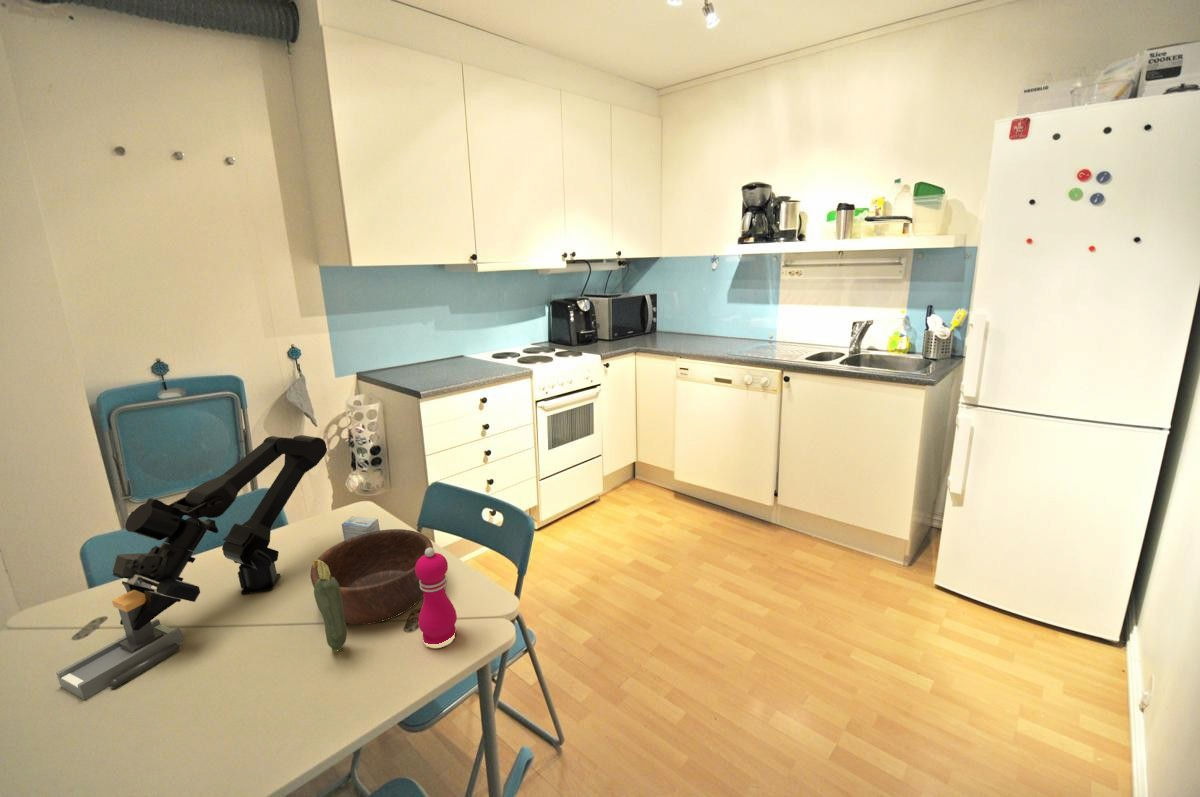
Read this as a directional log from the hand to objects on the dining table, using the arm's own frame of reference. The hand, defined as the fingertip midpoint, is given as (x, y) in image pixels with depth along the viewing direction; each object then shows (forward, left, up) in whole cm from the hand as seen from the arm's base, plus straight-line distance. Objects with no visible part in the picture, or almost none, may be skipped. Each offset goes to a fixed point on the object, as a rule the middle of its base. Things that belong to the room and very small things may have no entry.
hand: (128, 627), depth 103 cm
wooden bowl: (-43, -8, -7) cm, 44 cm away
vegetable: (-38, +9, -7) cm, 40 cm away
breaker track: (+1, +2, -7) cm, 7 cm away
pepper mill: (-57, +10, -7) cm, 58 cm away
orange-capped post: (-1, -1, -4) cm, 4 cm away
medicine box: (-36, -30, -7) cm, 47 cm away
